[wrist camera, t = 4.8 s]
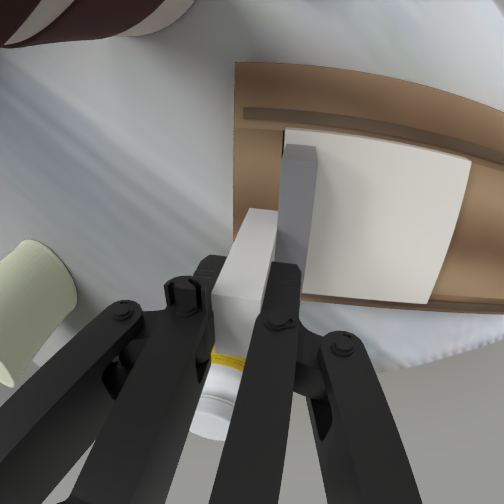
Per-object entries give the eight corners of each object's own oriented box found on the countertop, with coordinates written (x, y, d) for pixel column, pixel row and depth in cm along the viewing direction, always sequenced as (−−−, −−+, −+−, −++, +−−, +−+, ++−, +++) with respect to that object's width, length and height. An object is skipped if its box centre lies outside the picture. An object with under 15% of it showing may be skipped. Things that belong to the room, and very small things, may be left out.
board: (243, 64, 15) (234, 61, 13) (552, 137, 12) (571, 146, 10) (240, 273, 22) (233, 294, 20) (499, 297, 20) (510, 316, 18)
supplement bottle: (202, 295, 24) (156, 398, 16) (272, 298, 23) (250, 413, 15) (213, 342, 27) (180, 437, 19) (274, 347, 26) (256, 450, 18)
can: (80, 266, 25) (-1, 359, 15) (76, 324, 30) (21, 405, 20) (15, 224, 24) (-67, 293, 14) (19, 285, 29) (-40, 351, 19)
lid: (286, 126, 14) (279, 141, 11) (465, 157, 13) (502, 181, 10) (275, 281, 19) (266, 326, 16) (423, 296, 18) (439, 339, 15)
